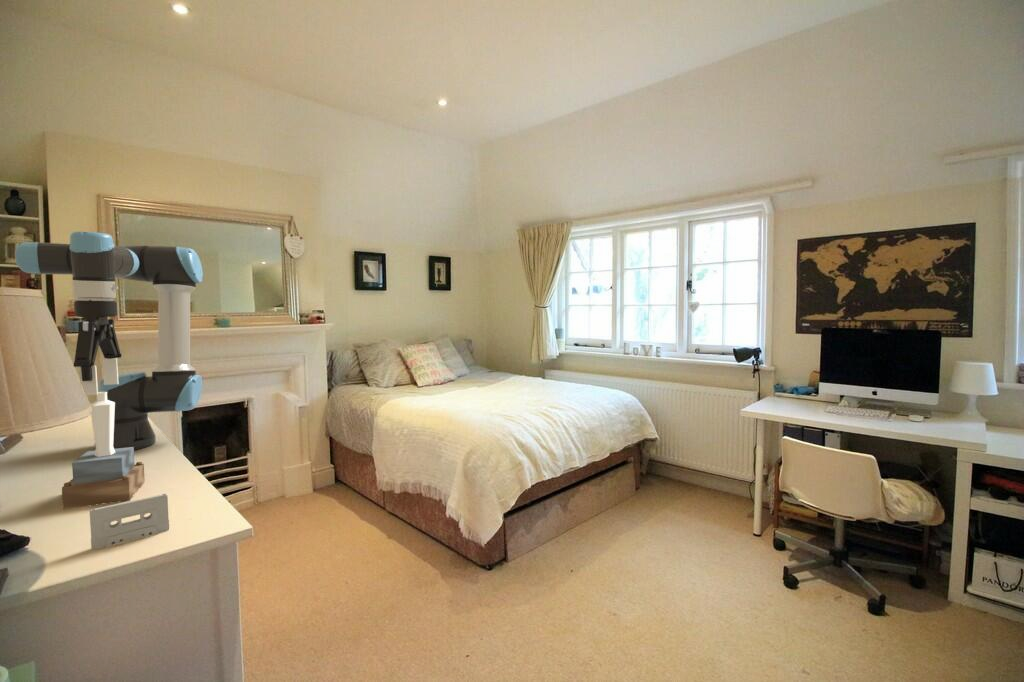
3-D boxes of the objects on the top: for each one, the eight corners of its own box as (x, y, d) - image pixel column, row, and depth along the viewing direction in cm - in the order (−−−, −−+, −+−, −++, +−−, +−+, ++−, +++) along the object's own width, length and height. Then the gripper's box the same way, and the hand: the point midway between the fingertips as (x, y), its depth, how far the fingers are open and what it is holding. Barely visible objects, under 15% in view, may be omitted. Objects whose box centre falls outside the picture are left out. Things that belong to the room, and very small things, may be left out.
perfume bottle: (97, 452, 114) (93, 391, 113) (119, 450, 115) (116, 390, 114) (87, 458, 110) (84, 394, 109) (110, 456, 111) (107, 393, 110)
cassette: (168, 528, 98) (166, 492, 97) (169, 531, 96) (168, 495, 96) (91, 547, 90) (89, 508, 89) (91, 551, 88) (89, 512, 88)
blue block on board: (84, 489, 116) (82, 450, 115) (144, 482, 121) (142, 444, 120) (63, 509, 105) (60, 465, 105) (129, 500, 110) (127, 458, 110)
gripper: (95, 300, 100) (101, 398, 102) (132, 299, 122) (136, 379, 124) (48, 300, 97) (56, 401, 99) (95, 299, 119) (100, 381, 121)
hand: (101, 389), depth 111 cm, fingers open, 13 cm apart
